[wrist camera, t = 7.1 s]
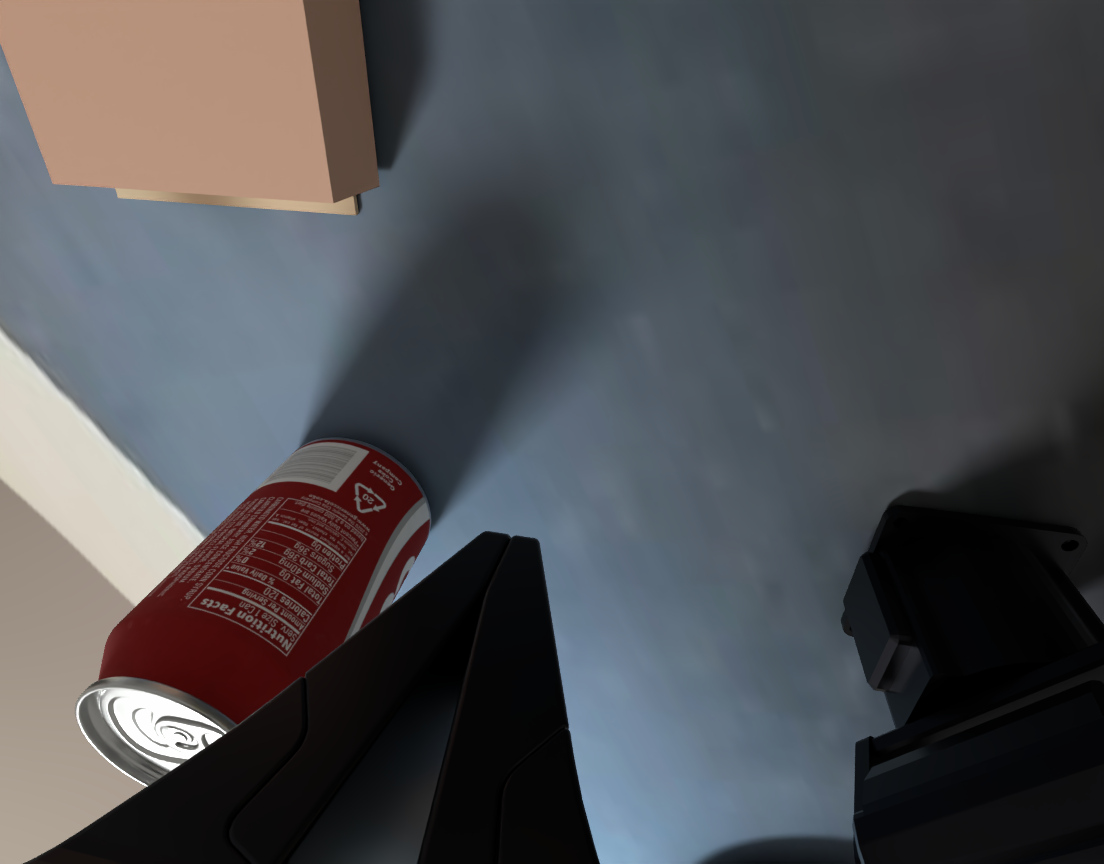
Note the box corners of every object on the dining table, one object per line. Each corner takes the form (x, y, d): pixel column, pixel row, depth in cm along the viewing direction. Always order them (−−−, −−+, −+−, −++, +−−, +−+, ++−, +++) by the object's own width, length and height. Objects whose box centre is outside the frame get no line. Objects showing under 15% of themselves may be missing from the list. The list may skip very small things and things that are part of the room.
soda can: (280, 417, 25) (12, 647, 15) (434, 441, 25) (258, 702, 14) (304, 539, 29) (99, 791, 19) (439, 564, 28) (302, 842, 18)
